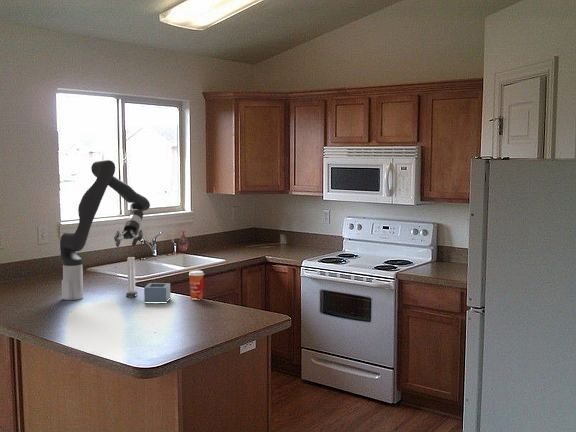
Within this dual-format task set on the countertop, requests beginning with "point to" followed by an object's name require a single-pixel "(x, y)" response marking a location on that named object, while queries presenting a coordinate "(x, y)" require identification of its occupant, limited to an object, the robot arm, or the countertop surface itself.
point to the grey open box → (157, 292)
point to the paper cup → (196, 284)
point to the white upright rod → (131, 277)
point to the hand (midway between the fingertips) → (125, 245)
